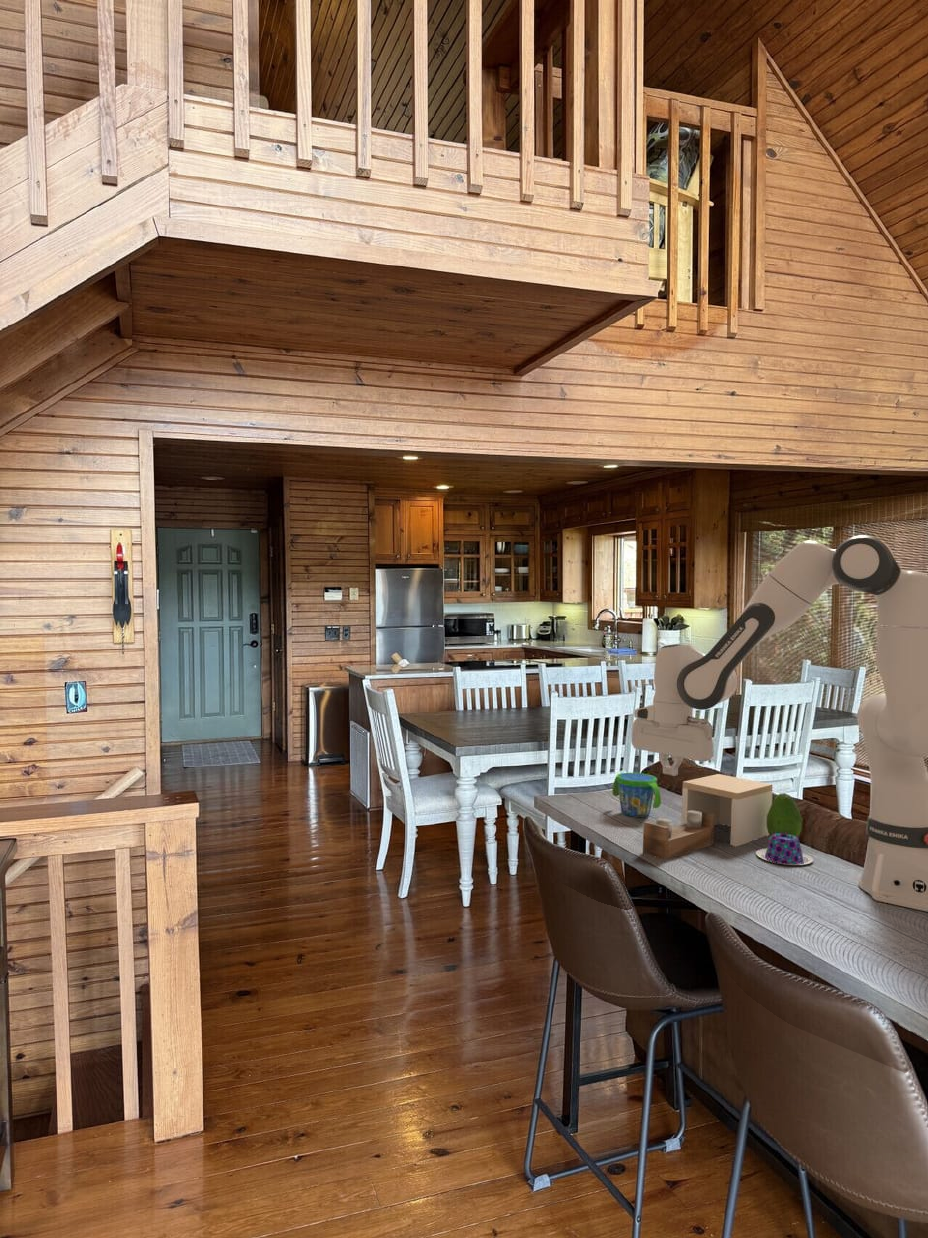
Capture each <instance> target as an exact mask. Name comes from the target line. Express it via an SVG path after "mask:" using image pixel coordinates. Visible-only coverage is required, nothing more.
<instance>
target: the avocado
mask: <svg viewBox="0 0 928 1238" xmlns="http://www.w3.org/2000/svg"><path fill="white" fill-rule="evenodd" d="M766 825H767V830H768V833H769V836H770V837H771V836H772V835H773V834H778V833H782V834H789V835H793V836H796V837H797V838H798V837H799V836H800V834H801V831H802V829H803V818H802V815H801V812H800V809H799V807H798V805H797V803H796V801H795V799H794V798H793V797H792V796H791V795H789V794H787V793H785V792H784V793H779V794H777V795H775V797H774V798H773V799H772V805H771V807H770V810H769V812H768V814H767V822H766Z"/></svg>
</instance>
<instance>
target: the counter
mask: <svg viewBox="0 0 928 1238" xmlns="http://www.w3.org/2000/svg"><path fill="white" fill-rule="evenodd" d="M681 794H682V798H681V800H682V801H681V825H683V824H686V823H687V811H690V810H695V811H700V812H704V813H708V814H712V815H714V826H716V825H715V824H717V825H721V824H724V825H723V826H725V825H729V826H731V827H730V839H729V841H730V846H732V845H733V847H739V846H741V845H742V846H743V845H745V844H748V843H751V842H753V841H752V840H754V841H756V840H755V839H757V840H759V839H758V838H760V837H763V838H765V837H764V836H766V837H769V836H770V835H769V833H768V830H767V825H766V822H767V814H768V812H769V810H770V807H771V805H772V802H773V784H772V783H767V782H762V781H757V780H751V779H748V778H747V779H746V778H740V777H735V776H732V775H731V776H730V775H726V774H720V773H717V774H712V775H707V776H703V777H699V778H694V779H688V780H685V781H682V793H681ZM718 823H720V824H718ZM729 826H728V827H729ZM768 835H769V836H768ZM760 839H761V838H760ZM750 841H751V842H750ZM747 842H748V843H747Z"/></svg>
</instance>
